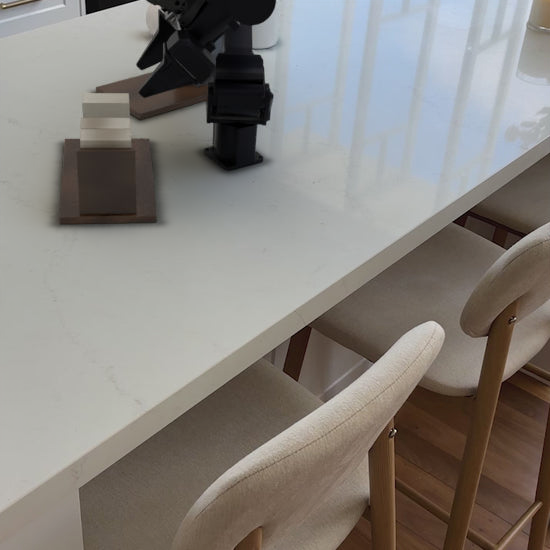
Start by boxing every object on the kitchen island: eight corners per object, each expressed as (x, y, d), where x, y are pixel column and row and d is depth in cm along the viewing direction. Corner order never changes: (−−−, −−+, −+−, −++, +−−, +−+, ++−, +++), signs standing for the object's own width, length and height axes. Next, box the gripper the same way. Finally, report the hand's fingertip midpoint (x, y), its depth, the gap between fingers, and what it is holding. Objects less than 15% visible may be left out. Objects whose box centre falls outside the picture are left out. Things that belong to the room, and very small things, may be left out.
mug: (207, 38, 166) (209, -17, 160) (228, 26, 172) (231, -28, 166) (265, 53, 162) (269, -3, 156) (284, 39, 168) (289, -15, 162)
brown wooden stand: (149, 144, 129) (149, 73, 123) (156, 222, 112) (156, 144, 106) (65, 144, 127) (60, 72, 121) (59, 224, 110) (53, 144, 104)
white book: (130, 160, 123) (128, 93, 117) (130, 170, 121) (129, 102, 115) (85, 160, 122) (82, 92, 116) (85, 171, 120) (82, 102, 114)
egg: (169, 46, 161) (170, 4, 157) (140, 39, 163) (139, -2, 158) (184, 36, 166) (185, -5, 161) (155, 29, 167) (155, -11, 163)
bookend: (248, 87, 149) (253, 17, 142) (140, 120, 136) (139, 44, 129) (203, 63, 156) (205, -5, 149) (95, 92, 142) (92, 19, 136)
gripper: (178, -71, 114) (93, 12, 118) (189, -30, 98) (92, 64, 103) (236, -7, 119) (153, 70, 124) (255, 41, 104) (160, 127, 108)
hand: (139, 80), depth 114 cm, fingers open, 9 cm apart
